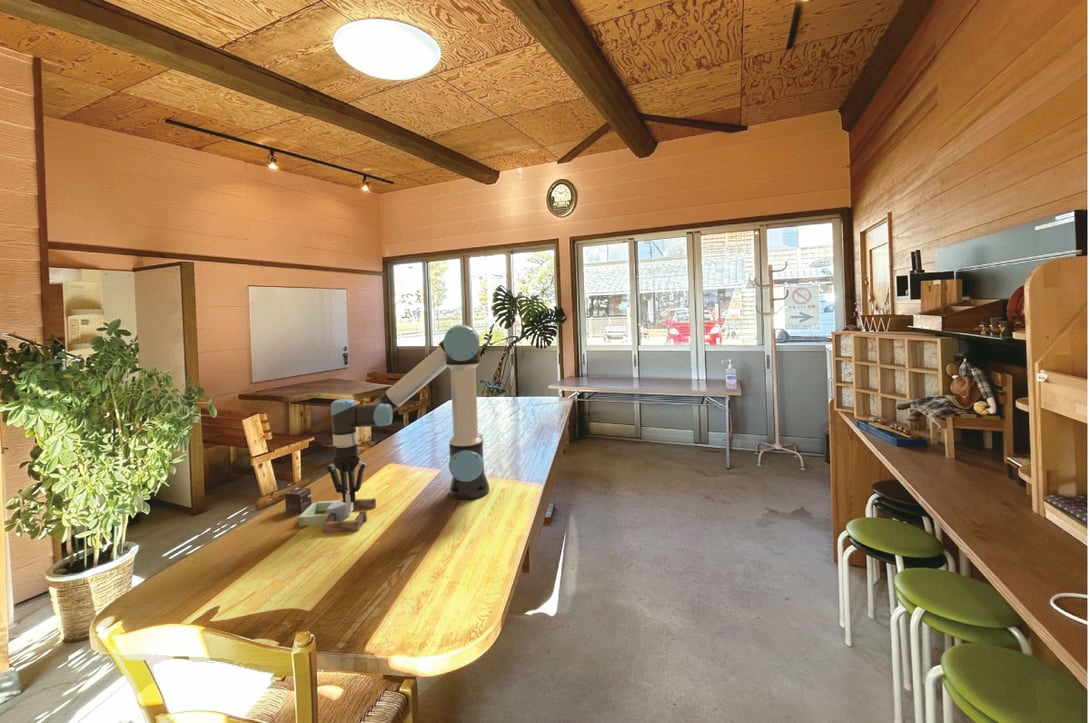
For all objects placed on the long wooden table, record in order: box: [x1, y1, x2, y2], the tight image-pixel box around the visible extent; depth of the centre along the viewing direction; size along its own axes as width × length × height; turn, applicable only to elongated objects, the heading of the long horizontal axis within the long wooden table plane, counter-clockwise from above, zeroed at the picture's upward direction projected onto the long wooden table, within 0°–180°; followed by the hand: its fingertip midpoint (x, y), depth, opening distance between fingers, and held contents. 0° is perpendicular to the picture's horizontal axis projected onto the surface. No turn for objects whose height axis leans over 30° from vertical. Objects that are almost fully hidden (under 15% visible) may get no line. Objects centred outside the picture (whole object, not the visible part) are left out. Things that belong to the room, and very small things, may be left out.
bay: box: [298, 499, 341, 527], centre depth 161 cm, size 10×13×3 cm
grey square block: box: [325, 502, 350, 521], centre depth 161 cm, size 6×6×4 cm
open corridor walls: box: [321, 497, 377, 534], centre depth 159 cm, size 12×20×3 cm, turn 5°
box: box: [284, 487, 313, 515], centre depth 167 cm, size 6×6×7 cm
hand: (349, 511), depth 162 cm, fingers closed
